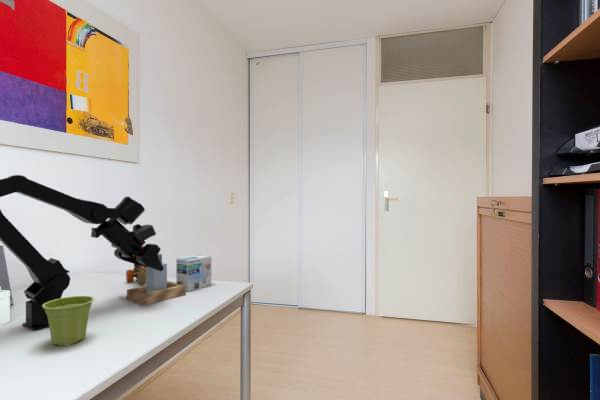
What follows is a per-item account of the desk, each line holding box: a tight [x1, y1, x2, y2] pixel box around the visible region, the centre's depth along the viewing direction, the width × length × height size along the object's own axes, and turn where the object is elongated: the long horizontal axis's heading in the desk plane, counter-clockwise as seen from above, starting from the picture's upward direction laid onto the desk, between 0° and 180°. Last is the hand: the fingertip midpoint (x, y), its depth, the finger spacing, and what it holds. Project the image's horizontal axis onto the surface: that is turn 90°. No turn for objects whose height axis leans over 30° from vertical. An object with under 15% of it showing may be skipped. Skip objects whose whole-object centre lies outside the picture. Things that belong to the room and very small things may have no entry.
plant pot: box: [42, 295, 95, 346], centre depth 75 cm, size 9×9×9 cm
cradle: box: [126, 280, 187, 307], centre depth 108 cm, size 14×11×3 cm
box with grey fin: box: [145, 253, 168, 293], centre depth 108 cm, size 4×4×12 cm
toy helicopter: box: [125, 244, 146, 285], centre depth 123 cm, size 8×21×14 cm, turn 38°
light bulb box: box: [176, 254, 212, 292], centre depth 120 cm, size 11×7×11 cm, turn 147°
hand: (154, 268), depth 107 cm, fingers open, 9 cm apart
